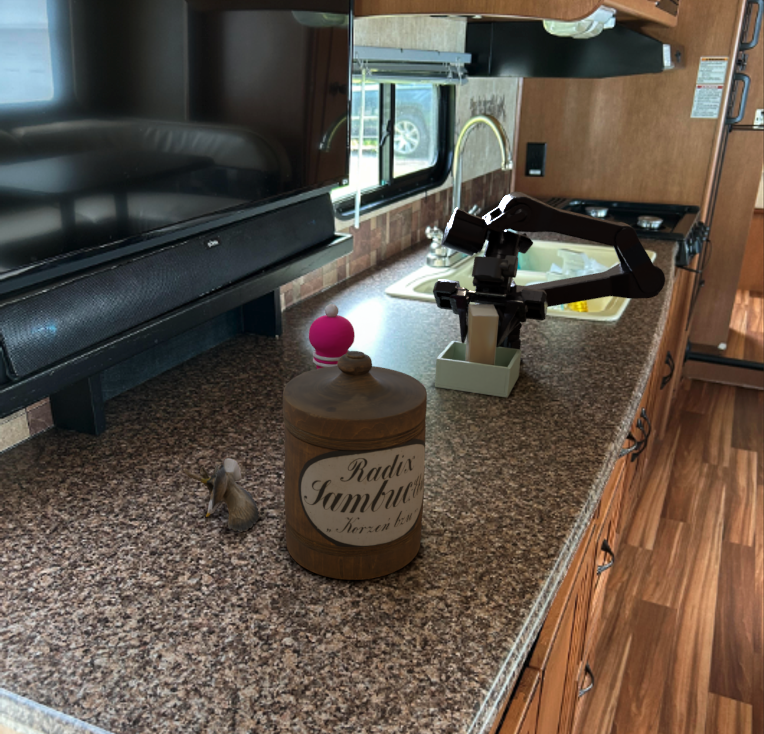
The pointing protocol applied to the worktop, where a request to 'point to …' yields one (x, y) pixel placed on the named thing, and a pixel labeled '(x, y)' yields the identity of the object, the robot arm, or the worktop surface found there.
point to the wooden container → (354, 468)
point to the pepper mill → (330, 337)
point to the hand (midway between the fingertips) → (479, 344)
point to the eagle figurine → (229, 495)
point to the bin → (477, 371)
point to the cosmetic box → (481, 334)
